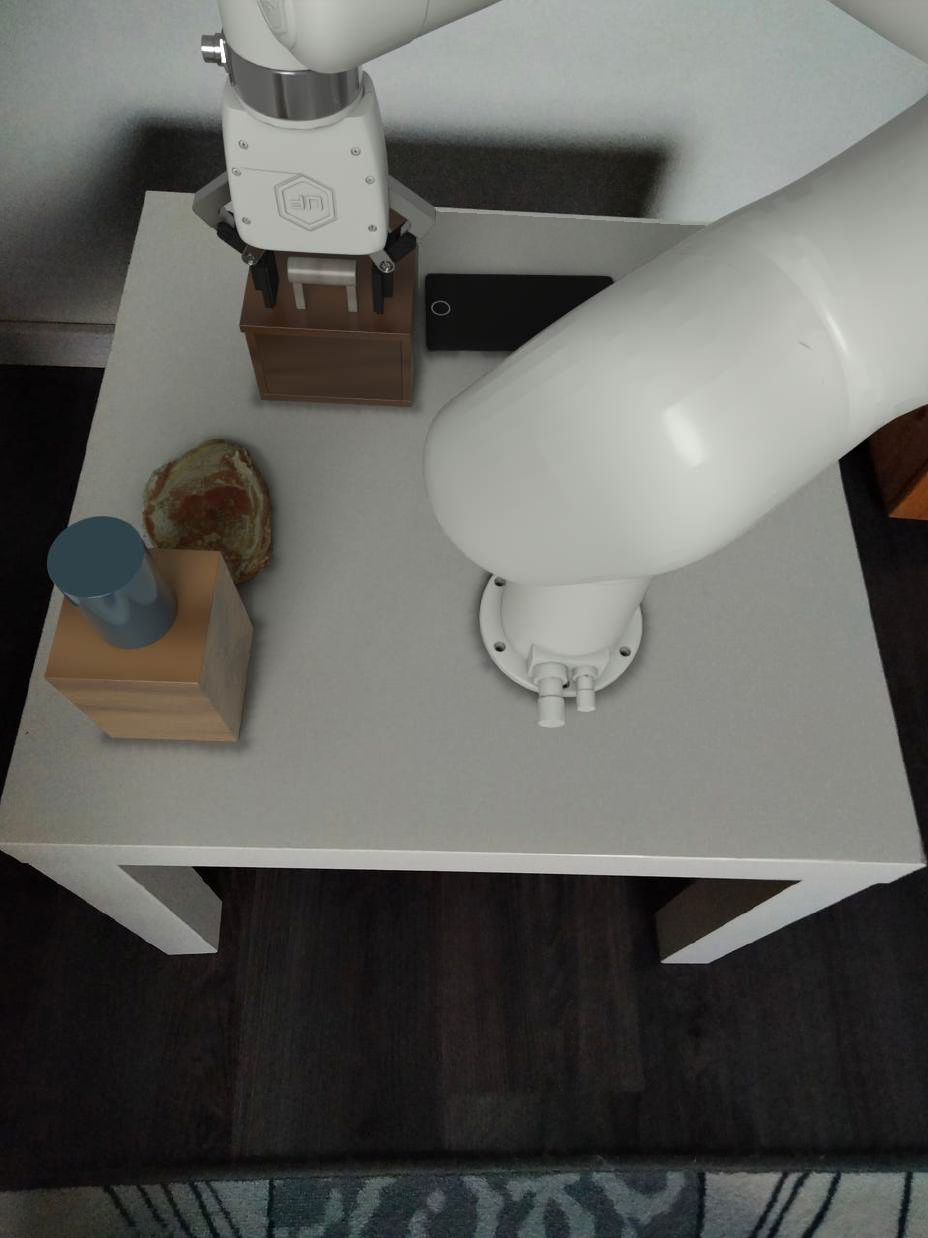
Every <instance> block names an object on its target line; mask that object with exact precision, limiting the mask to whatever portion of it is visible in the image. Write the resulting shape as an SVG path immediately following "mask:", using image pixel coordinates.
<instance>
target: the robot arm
mask: <svg viewBox="0 0 928 1238" xmlns="http://www.w3.org/2000/svg"><path fill="white" fill-rule="evenodd" d="M216 1H217V5H218V10H219V16H220V20H221V31H220V32H215V33H214V35H213V34H202V35H201V40H200V42H201V43H200V46H201V47H200V49H201V55H202V58H203V61H204V63H205V64H206V63H207V64H208V63H209V64H216V65H217V67H224V70H225V73H226V74H228V75H227V77H226V80H225V83H224V85H223V87H222V91H221V124H222V125H221V127H222V139H223V140H222V141H223V149H224V158H225V166H226V170H225V171H224V172H222V173H221V174H220V175H219V176H217V177H215V178H214V179H213V180H211V181H210V182H208V183H207V184H206V185H205V186H203V187H201V188H200V189H198V190H197V191H196V192H195V193H194V197H193V202H192V206H191V209H192V212H193V213H194V215H196V216H197V217H198V218H200V220H202V221H203V222H204V224H206V225H207V226H208V227H209V228H211V229H212V228H213V229H214V230H215V231H216V236H217V237H218V238H219V239H220V240H221V241H222V242H224V243H225V244H226V245H228V246H230V247H231V248H232V249H234V250H235V251H236V252H238V253H239V254H240V255H241V260H242V262H243V263H244V264H246V265H248V266H250V269H251V274H252V278H253V283H254V287H255V290H260V291H262V295H263V300H264V304H265V308H273V307H275V305H276V299H277V292H278V286H279V275H278V269H277V264H276V259H275V253H274V250H278V251H294V252H311V253H329V254H349V255H367V254H368V255H369V257H370V258H371V259H372V260H373V261H372V272H371V279H372V296H373V312H376V314H383V308H384V297H388V298H393V270H394V268H395V264H396V263H397V262H398V261H400V260H401V259H402V258H404V257H405V256H406V255H408V254H409V253H410V252H412V251H413V250H414V249H415V248H416V244H417V243H418V244H419V243H420V242H421V241H422V240H423V239H424V238H425V237H426V236H427V235H428V234H429V233H430V232H431V231H432V230H433V229H434V228H435V226H436V217H437V216H436V214H437V210H436V208H435V206H434V205H432V204H431V203H430V202H428V201H426V199H424V198H423V197H421V196H420V195H418V194H417V193H416V192H414V191H413V190H411V189H410V188H409V187H408V186H406V185H404V184H403V183H401V182H400V181H398V180H397V179H396V178H394V177H393V176H392V175H391V174H390V172H389V165H388V164H389V163H388V153H387V145H386V138H385V137H386V136H385V130H384V125H383V119H382V114H381V109H380V105H379V100H378V96H377V92H376V88H375V84H374V82H373V79H372V77H371V75H370V74H369V73H368V72H367V71H366V70H364V69H363V65H364V64H367V63H368V62H371V61H373V60H376V59H377V58H380V57H382V56H384V55H386V54H389V53H391V52H394V51H396V50H398V49H400V48H403V47H404V46H407V45H408V44H409V45H410V44H411V43H412V42H413V41H415V40H417V39H419V38H421V37H423V36H425V35H428V34H430V33H432V32H434V31H436V30H438V29H441V28H443V27H445V26H448V25H450V24H452V23H455V22H456V21H458V20H461V19H464V18H465V17H468V16H470V15H474V14H475V13H478V12H480V11H482V10H484V9H487V8H489V7H491V6H493V5H495V4H497V3H499V2H501V1H502V0H216ZM826 1H827V2H828V3H830V4H832V5H834V6H835V7H836V8H838V9H839V10H841V11H842V12H844V13H846V15H848V16H850V17H851V18H853V19H855V20H856V21H858V22H859V23H860V24H862V25H864V26H865V27H866V28H868V29H870V30H871V31H873V32H874V33H875V34H877V35H879V36H880V37H881V38H883V39H885V40H887V41H888V42H889V43H890V44H892V45H893V46H896V48H897V47H898V48H899V49H900V50H903V51H904V52H906V53H908V54H910V55H911V56H913V57H915V58H916V59H918V60H919V61H921V62H923V63H924V64H927V65H928V0H826ZM229 203H231V207H232V211H230V210H227V207H226V205H228V204H229ZM389 207H390V208H391V209H393V210H394V211H396V212H397V213H398V214H400V215H401V216H403V217H404V218H406V219H407V220H408V221H406V222H403V223H402V224H401V225H399V226H398V227H397V228H396V229H394V230H393V231H392V230H391V229H390V228H389ZM926 405H928V92H927V93H926V94H924V95H923V96H922V97H921V98H920V99H918V100H917V101H916V102H915V103H913V104H912V105H910V106H909V107H907V108H906V109H903V110H902V111H901V112H900V113H898V114H897V115H895V116H894V117H892V118H891V119H890V120H888V121H886V122H885V123H884V124H882V125H880V126H879V127H878V128H876V129H874V130H873V131H871V132H870V133H868V134H867V135H865V136H864V137H863V138H860V140H858V141H857V142H855V143H853V144H852V145H851V146H849V147H848V148H846V149H845V150H843V151H841V152H840V153H838V154H836V155H835V156H833V157H832V158H830V159H828V161H826V162H824V163H822V164H821V165H819V166H818V167H816V168H815V169H813V170H812V171H809V172H808V173H806V174H805V175H803V176H801V177H799V178H797V179H795V180H794V181H793V182H791V183H788V184H786V185H785V186H783V187H781V188H779V189H777V190H775V191H774V192H771V193H770V194H767V195H765V196H763V197H760V198H759V199H757V200H754V201H752V202H749V203H748V204H746V205H744V206H741V207H739V208H737V209H736V210H734V211H731V212H729V213H727V214H725V215H724V216H722V217H720V218H718V219H716V220H715V221H712V222H711V223H709V224H707V225H706V226H704V227H703V228H701V229H699V230H697V231H695V232H694V233H692V234H691V235H689V236H687V237H686V238H684V239H682V240H681V241H679V242H677V243H676V244H674V245H672V246H671V247H669V248H668V249H666V250H665V251H663V252H662V253H659V254H658V255H656V256H655V257H653V258H652V259H650V260H649V261H647V262H645V263H643V264H642V265H640V266H639V267H637V268H635V269H634V270H633V271H631V272H629V273H628V274H626V275H625V276H623V277H622V278H620V279H618V280H617V281H614V284H612V285H610V286H609V287H607V288H606V289H604V290H602V291H601V292H599V293H598V294H596V295H595V296H593V297H591V298H590V299H588V300H587V301H585V302H584V303H582V304H581V305H579V306H578V307H576V308H575V309H573V310H572V311H570V312H569V313H567V314H566V315H564V316H563V317H561V318H560V319H559V320H557V321H556V322H554V323H553V324H551V325H550V326H549V327H547V328H546V329H544V330H543V331H541V332H540V333H539V334H537V335H536V336H534V337H533V338H532V339H530V340H529V341H528V342H526V343H525V344H524V345H522V346H521V347H520V348H518V349H517V350H516V351H512V353H510V355H508V356H507V357H505V358H504V359H503V360H501V361H500V362H499V363H497V364H496V365H495V366H493V367H492V368H491V369H489V370H488V371H487V372H485V373H484V374H483V375H481V376H480V377H479V378H477V379H476V380H475V381H473V382H472V383H471V384H470V385H468V386H467V387H465V388H464V389H463V390H461V392H459V393H458V394H456V395H455V396H453V397H452V398H451V399H450V400H448V401H447V402H445V404H444V405H443V406H442V407H441V408H440V409H439V410H438V411H437V413H436V414H435V416H434V417H433V418H432V421H431V423H430V425H429V428H428V430H427V432H426V436H425V440H424V444H423V451H422V476H423V482H424V483H423V484H424V489H425V493H426V496H427V499H428V502H429V505H430V507H431V510H432V513H433V515H434V517H435V519H436V521H437V522H438V525H439V526H440V527H441V529H442V531H443V532H444V534H445V535H446V537H447V538H448V540H450V541H451V543H452V545H454V546H455V547H456V548H457V549H458V550H459V551H460V552H461V554H463V555H464V556H465V557H467V559H469V560H470V561H472V562H473V563H474V564H475V565H477V566H478V567H480V568H481V569H483V570H484V571H486V572H488V573H490V574H491V577H490V578H489V579H488V581H487V583H486V586H485V588H484V590H483V593H482V597H481V601H480V606H479V615H478V620H479V621H478V622H479V630H480V631H479V632H480V636H481V639H482V641H483V645H484V648H485V649H486V651H487V652H488V654H489V655H488V656H489V657H490V659H491V660H492V661H493V662H494V663H495V665H496V666H497V667H498V669H499V670H500V671H501V672H502V673H503V674H505V675H506V676H507V677H508V678H509V679H511V680H512V681H513V682H515V683H516V684H517V685H520V686H521V687H523V688H525V689H527V690H529V691H532V692H535V693H537V694H538V698H537V725H538V726H540V727H543V728H549V729H554V728H555V729H556V728H560V727H564V726H565V725H566V707H565V705H566V704H565V699H564V698H575V700H576V701H575V702H576V703H575V705H576V710H577V711H578V712H581V713H590V712H594V711H595V710H596V709H597V707H596V706H597V703H596V692H599V691H601V690H603V689H604V688H606V687H608V686H609V685H611V684H612V683H614V682H615V681H617V680H618V679H619V678H620V677H621V675H622V674H624V672H626V670H627V669H628V667H629V666H630V665H631V663H632V662H633V660H634V658H635V656H636V654H637V653H638V650H639V648H640V644H641V640H642V636H643V615H642V609H641V608H642V607H641V603H642V601H643V599H644V598H645V595H646V594H647V593H648V591H649V589H650V587H651V585H652V583H653V581H654V579H655V577H656V576H659V575H663V574H668V573H671V572H674V571H677V570H681V569H683V568H686V567H688V566H691V565H693V564H695V563H698V562H700V561H701V560H704V559H706V558H708V557H709V556H712V555H714V554H715V553H717V552H719V551H721V550H723V549H724V548H726V547H728V546H729V545H731V544H732V543H734V542H735V541H737V540H739V539H740V538H741V537H743V536H744V535H745V534H747V533H748V532H749V531H751V530H752V529H753V528H755V527H756V526H757V525H759V524H760V523H761V522H763V521H764V520H766V518H768V517H769V516H771V515H772V514H773V513H774V512H775V511H777V510H778V509H779V508H780V507H782V506H783V505H784V504H785V503H787V501H789V500H790V499H792V498H793V497H794V496H795V495H797V493H800V491H802V490H803V489H804V488H805V487H806V486H808V485H809V484H810V483H811V482H813V481H814V480H815V479H816V478H818V477H819V476H820V475H821V474H822V473H824V472H825V471H826V470H827V469H829V468H830V467H832V465H834V464H835V463H836V462H838V461H839V460H840V459H842V457H844V456H845V455H847V454H848V453H849V452H850V451H852V450H853V449H854V448H856V447H857V446H858V445H860V444H861V443H863V442H864V441H865V440H866V439H868V438H869V437H870V436H871V435H873V434H874V433H875V432H876V431H878V430H879V429H880V428H882V427H884V426H885V425H887V424H889V423H890V422H891V421H893V420H895V419H897V418H899V417H901V416H903V415H905V414H907V413H909V412H912V411H914V410H916V409H918V408H921V407H923V406H926ZM499 585H500V586H499ZM497 649H500V650H501V651H498V650H497ZM623 654H624V655H625V656H624V655H623Z"/></svg>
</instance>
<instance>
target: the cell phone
mask: <svg viewBox="0 0 928 1238" xmlns="http://www.w3.org/2000/svg"><path fill="white" fill-rule="evenodd" d="M614 283H615V281H614V279H613V278H612V276H609V275H597V274H596V275H592V274H591V275H589V274H587V275H586V274H584V275H583V274H522V273H521V274H520V273H519V274H518V273H517V274H516V273H507V274H506V273H447V272H446V273H444V272H443V273H442V272H438V273H437V272H433V273H427V274H425V277H424V312H425V313H424V316H425V317H424V318H425V346H426V350H428V351H430V352H437V351H439V352H440V351H442V352H447V351H448V352H515V351H516V350H517V349H518V348H520V347H521V346H522V345H524V344H525V343H526V342H528V341H529V340H530V339H532V338H533V337H534V336H536V335H537V334H539V333H540V332H541V331H543V330H544V329H546V328H547V327H549V326H550V325H551V324H553V323H554V322H556V321H557V320H559V319H560V318H561V317H563V316H564V315H566V314H567V313H569V312H570V311H572V310H573V309H575V308H576V307H578V306H579V305H581V304H582V303H584V302H585V301H587V300H588V299H590V298H591V297H593V296H595V295H596V294H598V293H599V292H601V291H602V290H604V289H606V288H607V287H609V286H610V285H612V284H614Z"/></svg>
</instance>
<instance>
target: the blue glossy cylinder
mask: <svg viewBox="0 0 928 1238" xmlns="http://www.w3.org/2000/svg"><path fill="white" fill-rule="evenodd" d="M148 548H149V547H148V546H147V545H146V543H145V541H144V540H143V538H142V536H141V534H140V533H139V531H138V530H137V529H136V528H135V527H134V526H133V525H132V524H130V523H129V522H127V521H126V520H124V519H121V518H118V517H114V516H107V515H96V516H91V517H87V518H83V519H80V520H78V521H76V522H74V523H72V524H71V525H68V527H66V528H65V529H64V530H62V531H61V532H60V533H59V534H58V536H57V537H56V538H55V539H54V541H53V543H52V544H51V546H50V548H49V550H48V554H47V560H46V566H47V571H48V576H49V578H50V580H51V581H52V582H53V584H54V585H55V587H56V588H57V589H58V590H59V591H60V592H61V593H62V595H63V597H64V596H65V597H66V598H67V599H68V600H69V601H70V603H71V604H72V605H73V606H74V607H75V608H76V610H77V611H78V612H79V613H80V614H81V616H82V617H83V618H84V619H85V620H86V621H87V623H88V624H89V625H90V626H91V627H92V628H93V630H94V631H95V632H96V633H97V634H98V635H99V637H100V638H101V639H102V640H103V641H105V642H106V643H108V644H109V645H111V646H114V647H117V648H121V649H138V648H142V647H146V646H148V645H151V644H153V643H155V642H156V641H158V640H159V639H160V638H162V637H163V636H164V635H165V634H166V633H167V632H168V631H169V629H170V628H171V626H172V625H173V623H174V620H175V618H176V614H177V601H176V597H175V594H174V593H173V591H172V589H171V587H170V586H169V584H168V582H167V580H166V579H165V577H164V575H163V574H162V572H161V570H160V569H159V567H158V565H157V563H156V562H155V560H154V558H153V557H152V555H151V553H150V551H149V550H148Z"/></svg>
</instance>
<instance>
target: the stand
mask: <svg viewBox="0 0 928 1238" xmlns="http://www.w3.org/2000/svg"><path fill="white" fill-rule="evenodd" d="M147 548H148V550H149V551H150V553H151V555H152V557H153V558H154V560H155V562H156V563H157V565H158V567H159V569H160V570H161V572H162V574H163V575H164V577H165V579H166V580H167V582H168V584H169V586H170V587H171V589H172V591H173V593H174V594H175V597H176V601H177V614H176V618H175V620H174V623H173V625H172V626H171V628H170V629H169V631H168V632H167V633H166V634H165V635H164V636H163V637H162V638H160V639H159V640H158V641H156V642H155V643H153V644H151V645H148V646H146V647H142V648H138V649H121V648H117V647H114V646H111V645H109V644H108V643H106V642H105V641H103V640H102V639H101V638H100V637H99V635H98V634H97V633H96V632H95V631H94V630H93V628H92V627H91V626H90V625H89V624H88V623H87V621H86V620H85V619H84V618H83V617H82V616H81V614H80V613H79V612H78V611H77V610H76V608H75V607H74V606H73V605H72V604H71V603H70V601H69V600H68V599H67V598H66V597H65V596H64V595H63V599H62V604H61V607H60V611H59V616H58V619H57V624H56V627H55V632H54V635H53V639H52V644H51V648H50V652H49V655H48V660H47V664H46V669H45V672H44V680H46V681H47V682H48V683H49V684H50V685H51V686H52V687H53V688H54V689H56V690H57V691H58V692H59V693H60V694H61V695H62V696H64V697H65V698H66V699H67V700H68V701H69V702H70V703H72V704H73V706H75V707H76V708H78V710H80V712H82V713H83V714H84V715H85V716H86V717H87V718H88V719H90V721H92V722H93V723H94V724H95V725H96V726H97V727H98V728H100V729H101V730H102V731H103V732H105V733H106V734H107V735H108V736H109V737H110V738H114V739H115V738H116V739H142V740H143V739H145V740H168V741H169V740H173V741H201V742H202V741H203V742H205V741H206V742H228V743H229V742H231V743H232V742H235V743H238V742H239V736H240V729H241V722H242V714H243V708H244V707H243V706H244V701H245V700H244V699H245V692H246V685H247V677H248V670H249V663H250V656H251V651H252V641H253V634H254V627H253V624H252V622H251V619H250V618H249V617H250V616H249V615H248V613H247V610H246V608H245V606H244V603H243V601H242V599H241V596H240V594H239V592H238V589H237V587H236V585H234V582H233V580H232V578H231V575H230V573H229V571H228V568H227V566H226V564H225V561H224V559H223V557H222V554H221V552H220V551H207V550H183V549H159V548H155V547H154V548H153V547H147Z"/></svg>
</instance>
